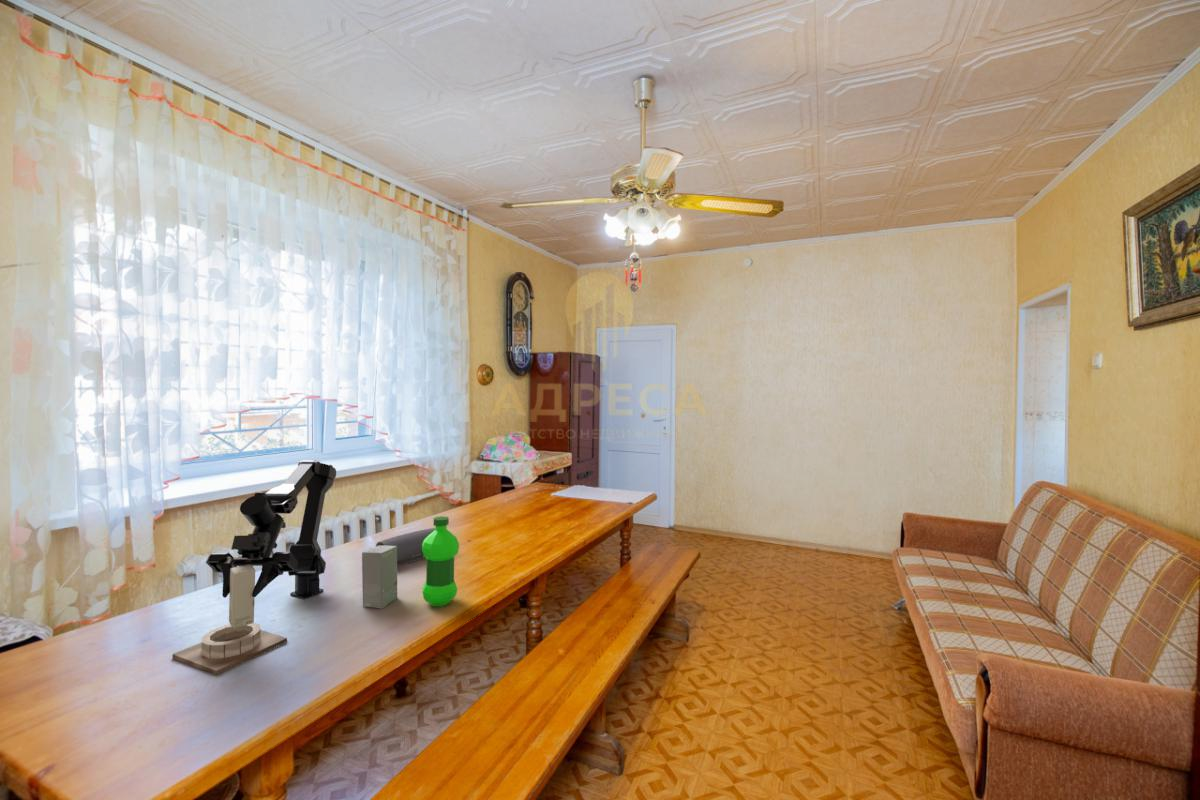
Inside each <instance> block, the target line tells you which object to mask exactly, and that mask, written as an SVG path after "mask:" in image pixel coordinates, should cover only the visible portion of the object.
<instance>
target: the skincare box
mask: <svg viewBox="0 0 1200 800" xmlns="http://www.w3.org/2000/svg"><path fill="white" fill-rule="evenodd" d="M361 569H362V570H361V571H362V573H361V574H362V575H361V576H362V577H361V578H362V579H361V581H362V586H361V587H362V607H366V608H368V607H369V608H377V609H383V608H384V607H386V606H387V605H389V604H390V603H391V602H393V601H395V600H396V599H398V564H397V546H385V545H379V546H376V545H375V547H371V548H370V547H369V548H368V549H367V550H364V551H362V553H361Z"/></svg>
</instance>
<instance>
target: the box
mask: <svg viewBox="0 0 1200 800" xmlns="http://www.w3.org/2000/svg"><path fill="white" fill-rule="evenodd" d="M255 585H256V569H255V567H254V566H252V565H246V566H237V567H234V568H231V569H230V593H229V597H228V599H229V602H228V603H229V605H228V608H229V609H228V610H229V611H228V623H229V625H231V627H232V628H236V627H240V626H244V625H248V624H252V623H255V622H254V621H255V597H253V596H252V593H253V590H254V588H255Z"/></svg>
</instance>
